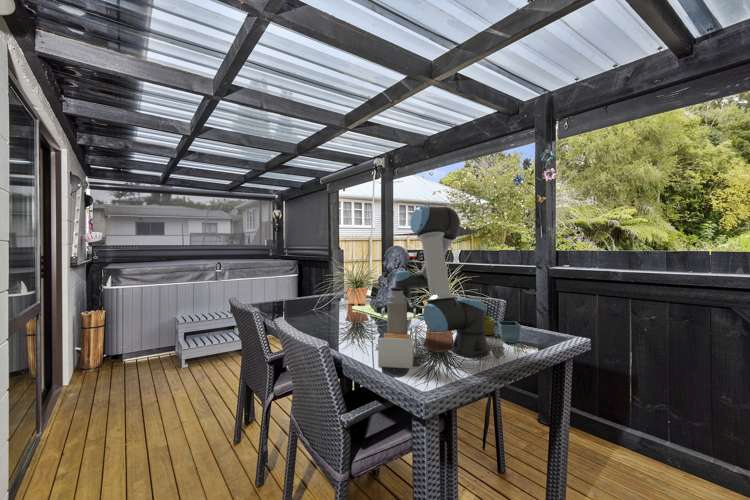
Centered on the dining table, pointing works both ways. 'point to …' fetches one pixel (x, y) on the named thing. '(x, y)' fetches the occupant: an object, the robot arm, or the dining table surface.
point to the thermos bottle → (397, 312)
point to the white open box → (395, 352)
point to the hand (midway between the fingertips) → (398, 314)
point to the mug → (489, 326)
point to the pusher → (396, 336)
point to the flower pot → (509, 331)
